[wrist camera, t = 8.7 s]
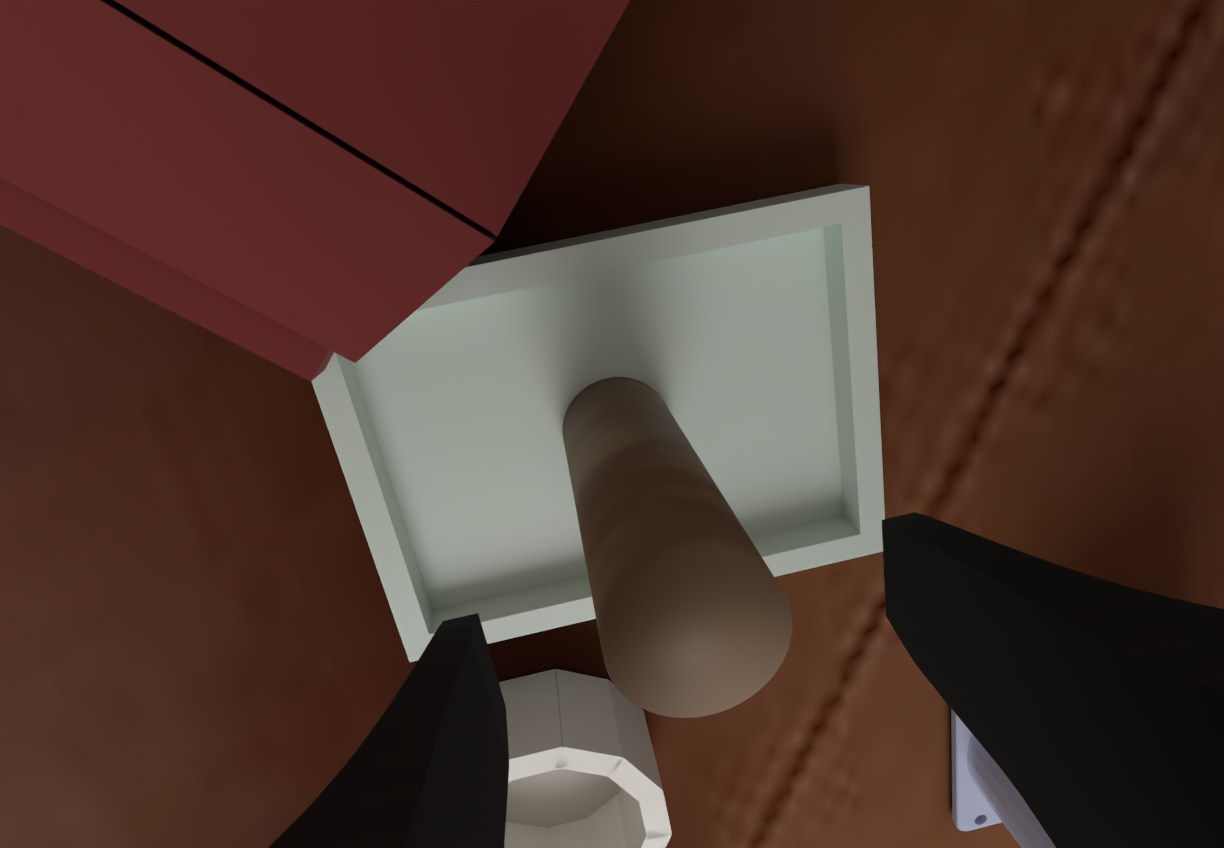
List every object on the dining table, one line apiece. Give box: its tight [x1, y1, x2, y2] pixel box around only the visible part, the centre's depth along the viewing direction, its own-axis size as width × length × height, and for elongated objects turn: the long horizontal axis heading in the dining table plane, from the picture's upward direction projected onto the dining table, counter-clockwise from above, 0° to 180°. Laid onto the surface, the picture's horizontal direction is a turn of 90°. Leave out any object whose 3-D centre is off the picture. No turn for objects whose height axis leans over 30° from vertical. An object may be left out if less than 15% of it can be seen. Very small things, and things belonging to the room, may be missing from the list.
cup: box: [499, 669, 672, 848], centre depth 24 cm, size 7×7×4 cm
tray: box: [311, 184, 885, 662], centre depth 21 cm, size 15×11×2 cm
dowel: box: [562, 377, 792, 718], centre depth 17 cm, size 3×3×10 cm
